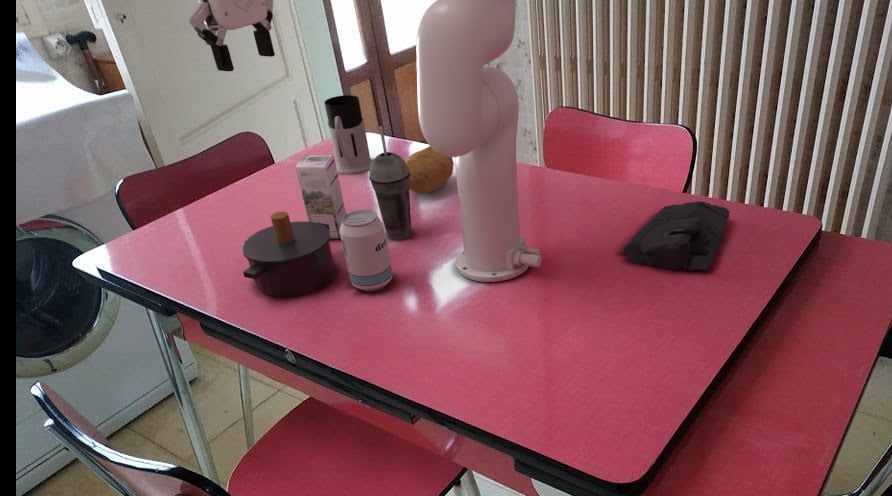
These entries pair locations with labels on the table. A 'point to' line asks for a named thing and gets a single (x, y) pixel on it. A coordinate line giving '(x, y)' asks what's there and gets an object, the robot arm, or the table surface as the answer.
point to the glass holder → (348, 134)
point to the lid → (285, 241)
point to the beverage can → (365, 250)
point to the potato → (428, 170)
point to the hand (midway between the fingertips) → (247, 63)
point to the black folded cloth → (680, 237)
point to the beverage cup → (392, 192)
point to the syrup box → (322, 191)
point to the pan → (294, 274)
